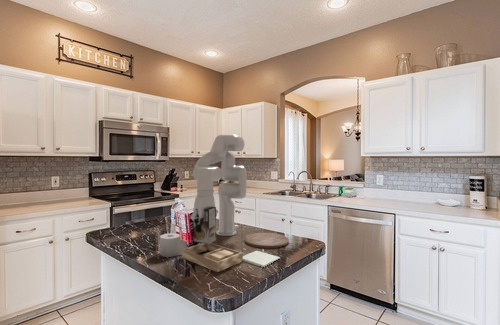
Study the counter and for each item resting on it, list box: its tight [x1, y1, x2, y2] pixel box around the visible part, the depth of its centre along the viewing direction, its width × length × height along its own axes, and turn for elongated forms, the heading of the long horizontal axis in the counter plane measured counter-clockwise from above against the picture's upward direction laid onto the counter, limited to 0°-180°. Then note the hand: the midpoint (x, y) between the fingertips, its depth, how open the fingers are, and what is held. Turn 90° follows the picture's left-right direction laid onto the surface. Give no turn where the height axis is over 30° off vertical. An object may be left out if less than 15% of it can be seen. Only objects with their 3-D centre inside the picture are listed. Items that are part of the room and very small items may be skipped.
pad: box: [242, 250, 281, 268], centre depth 127 cm, size 13×14×1 cm
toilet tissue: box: [159, 232, 188, 258], centre depth 134 cm, size 9×13×9 cm
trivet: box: [244, 232, 290, 249], centre depth 155 cm, size 25×25×2 cm
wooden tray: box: [181, 242, 244, 273], centre depth 125 cm, size 16×24×4 cm, turn 51°
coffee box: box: [193, 206, 217, 244], centre depth 129 cm, size 9×6×16 cm
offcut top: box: [210, 250, 235, 261], centre depth 121 cm, size 9×6×2 cm
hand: (204, 230), depth 129 cm, fingers closed on coffee box, 7 cm apart
